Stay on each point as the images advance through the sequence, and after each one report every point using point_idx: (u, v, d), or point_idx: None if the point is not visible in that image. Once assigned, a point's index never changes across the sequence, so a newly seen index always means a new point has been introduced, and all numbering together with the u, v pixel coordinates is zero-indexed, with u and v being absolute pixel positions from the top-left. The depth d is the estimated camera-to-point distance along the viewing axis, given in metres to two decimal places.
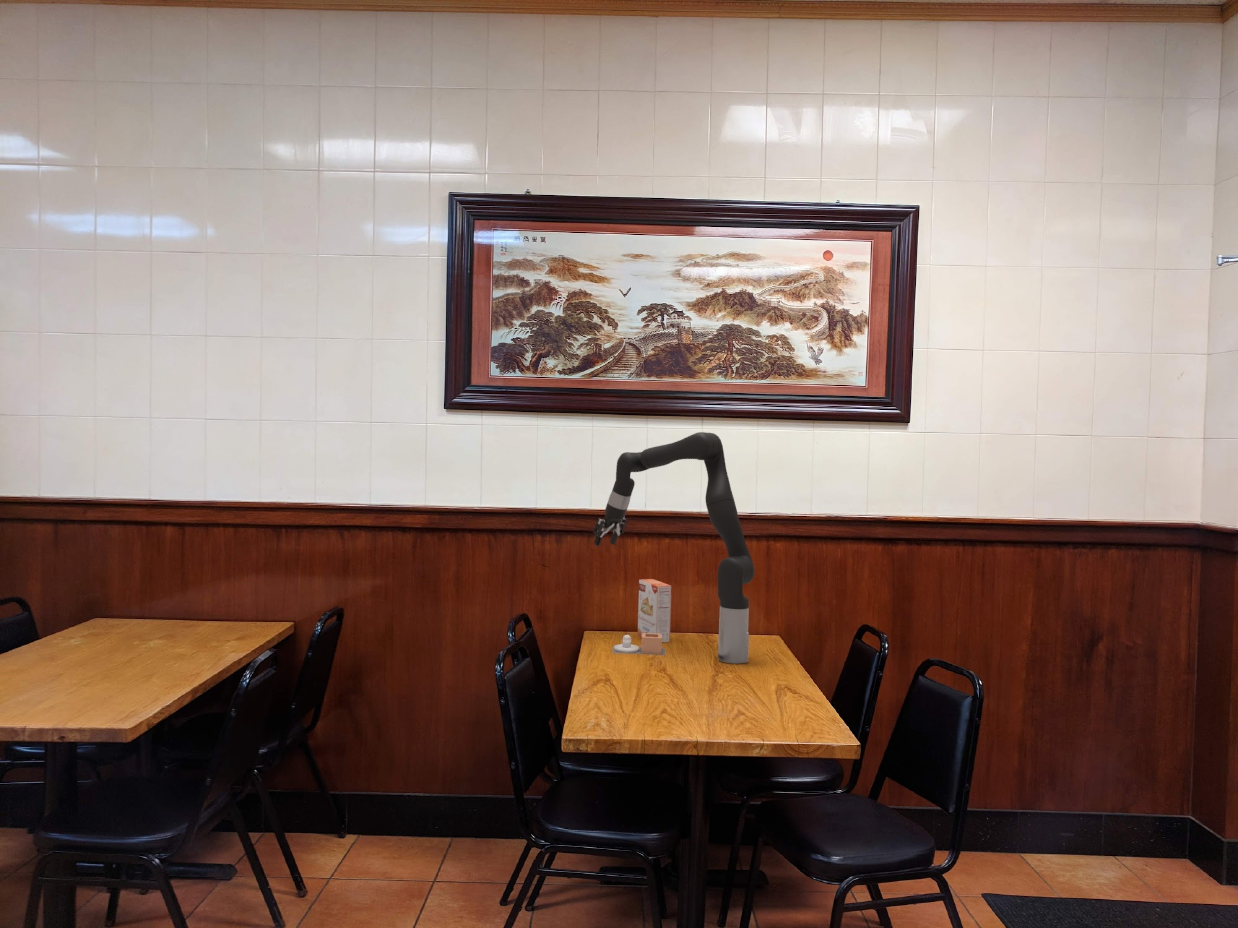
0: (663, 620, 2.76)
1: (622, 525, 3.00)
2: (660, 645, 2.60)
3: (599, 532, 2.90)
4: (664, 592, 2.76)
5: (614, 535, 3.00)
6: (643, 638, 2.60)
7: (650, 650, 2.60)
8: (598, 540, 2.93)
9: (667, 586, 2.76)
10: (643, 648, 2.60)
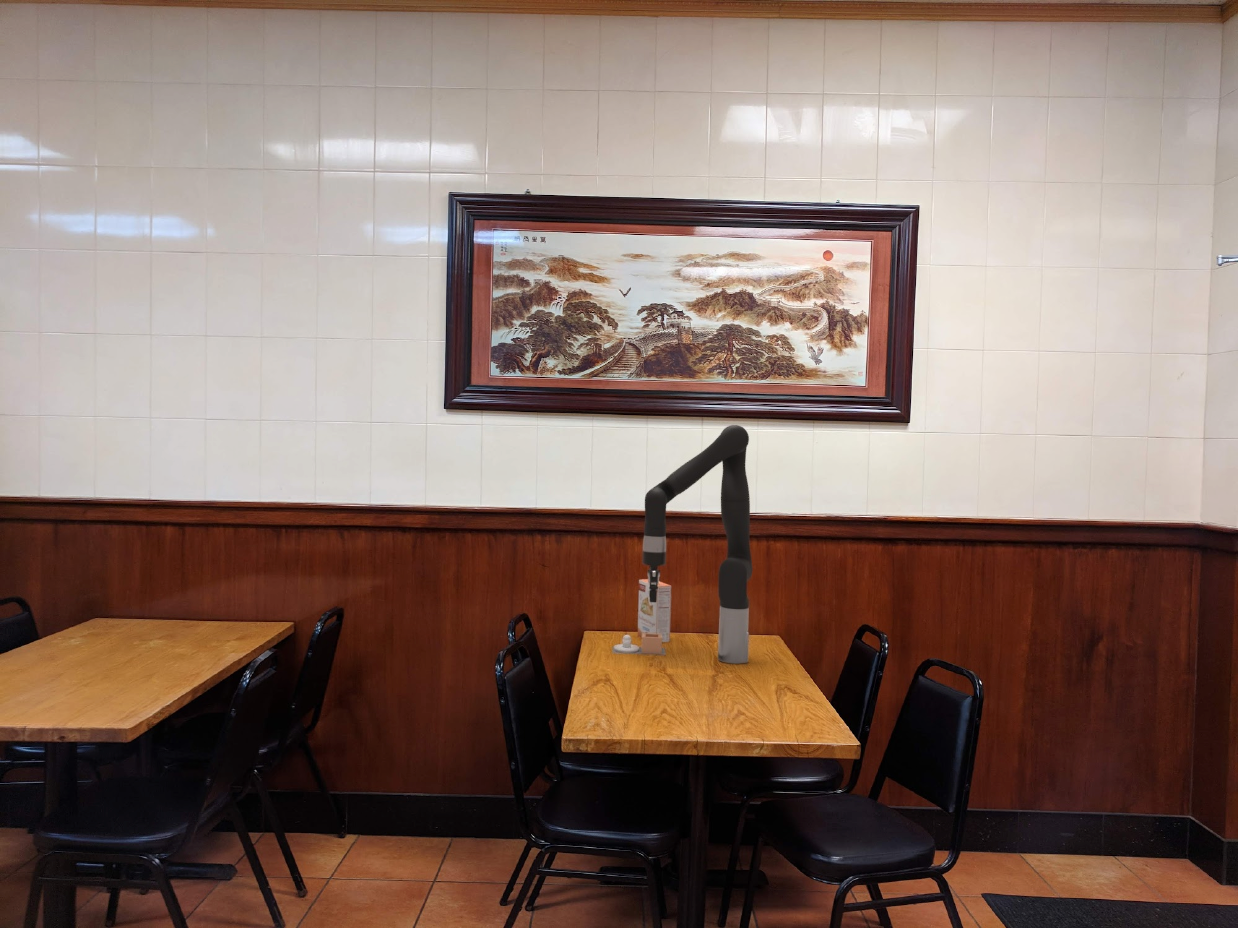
0: (663, 620, 2.76)
1: None
2: (660, 645, 2.60)
3: (657, 585, 2.57)
4: (664, 592, 2.76)
5: None
6: (643, 638, 2.60)
7: (650, 650, 2.60)
8: None
9: (667, 586, 2.76)
10: (643, 648, 2.60)
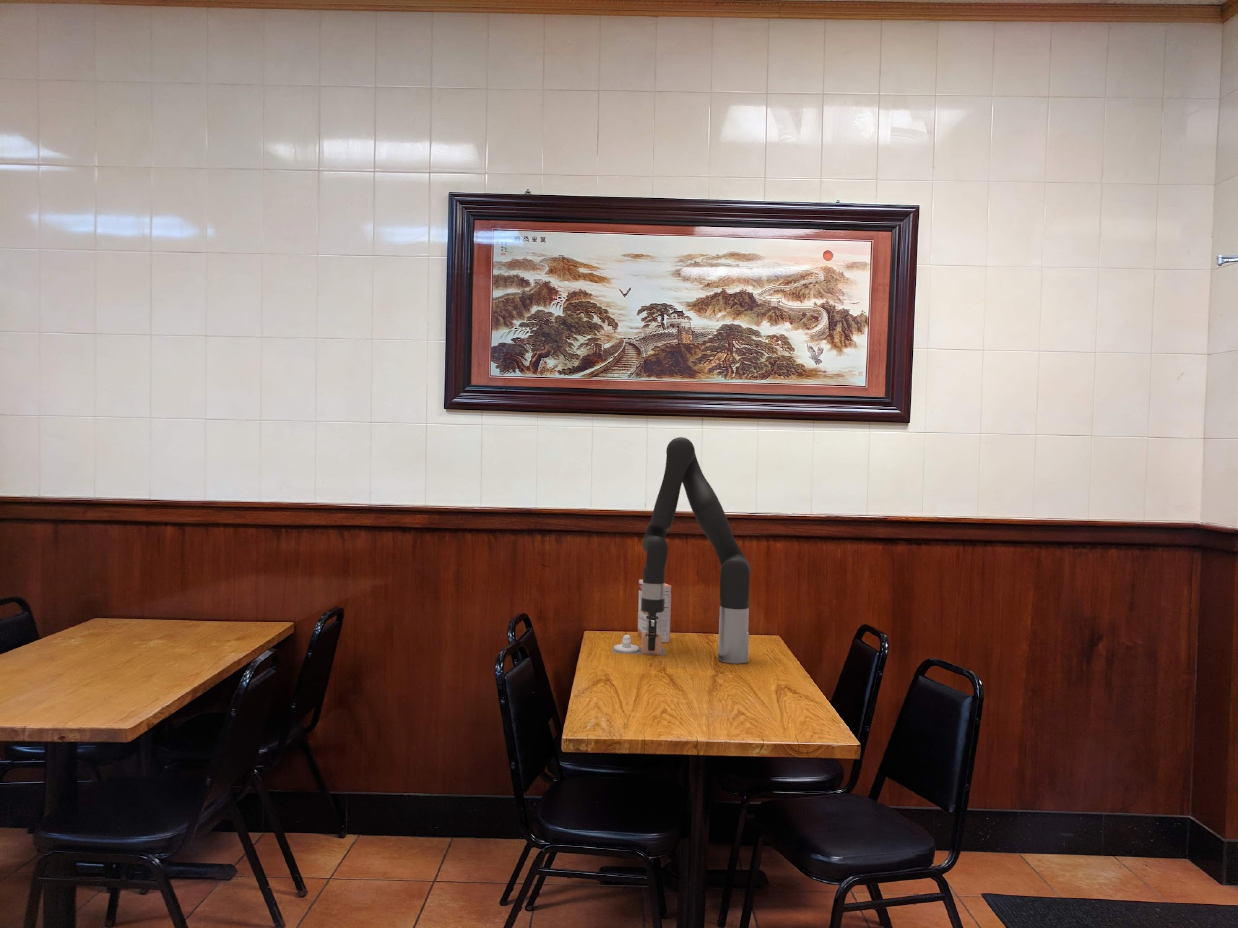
0: (663, 620, 2.76)
1: None
2: (660, 645, 2.60)
3: None
4: None
5: None
6: (643, 638, 2.60)
7: None
8: (653, 643, 2.59)
9: (667, 586, 2.76)
10: (643, 648, 2.60)
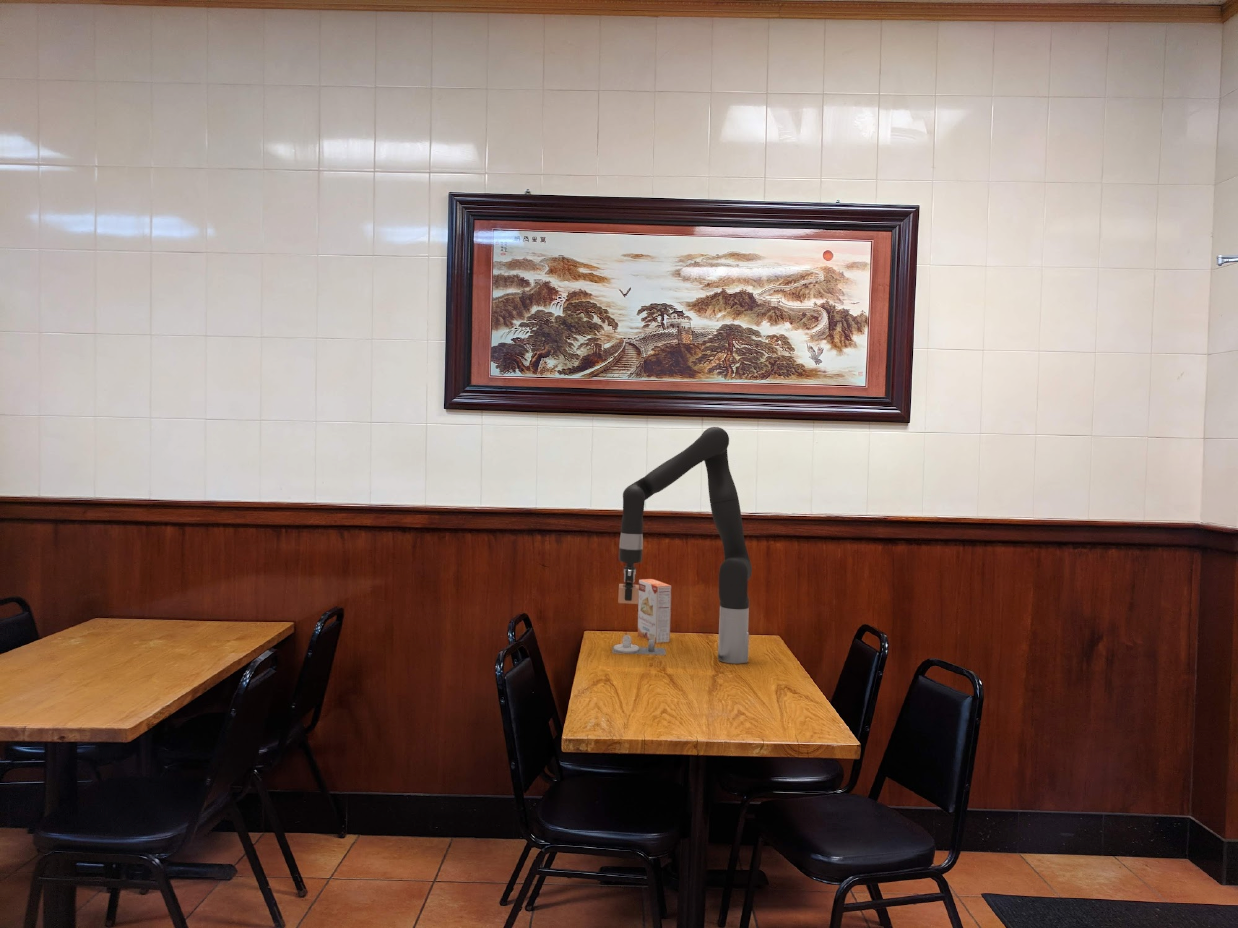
0: (663, 620, 2.76)
1: None
2: (637, 595, 2.60)
3: (632, 583, 2.58)
4: (664, 592, 2.76)
5: None
6: (620, 588, 2.60)
7: None
8: (630, 593, 2.59)
9: (667, 586, 2.76)
10: (620, 598, 2.60)
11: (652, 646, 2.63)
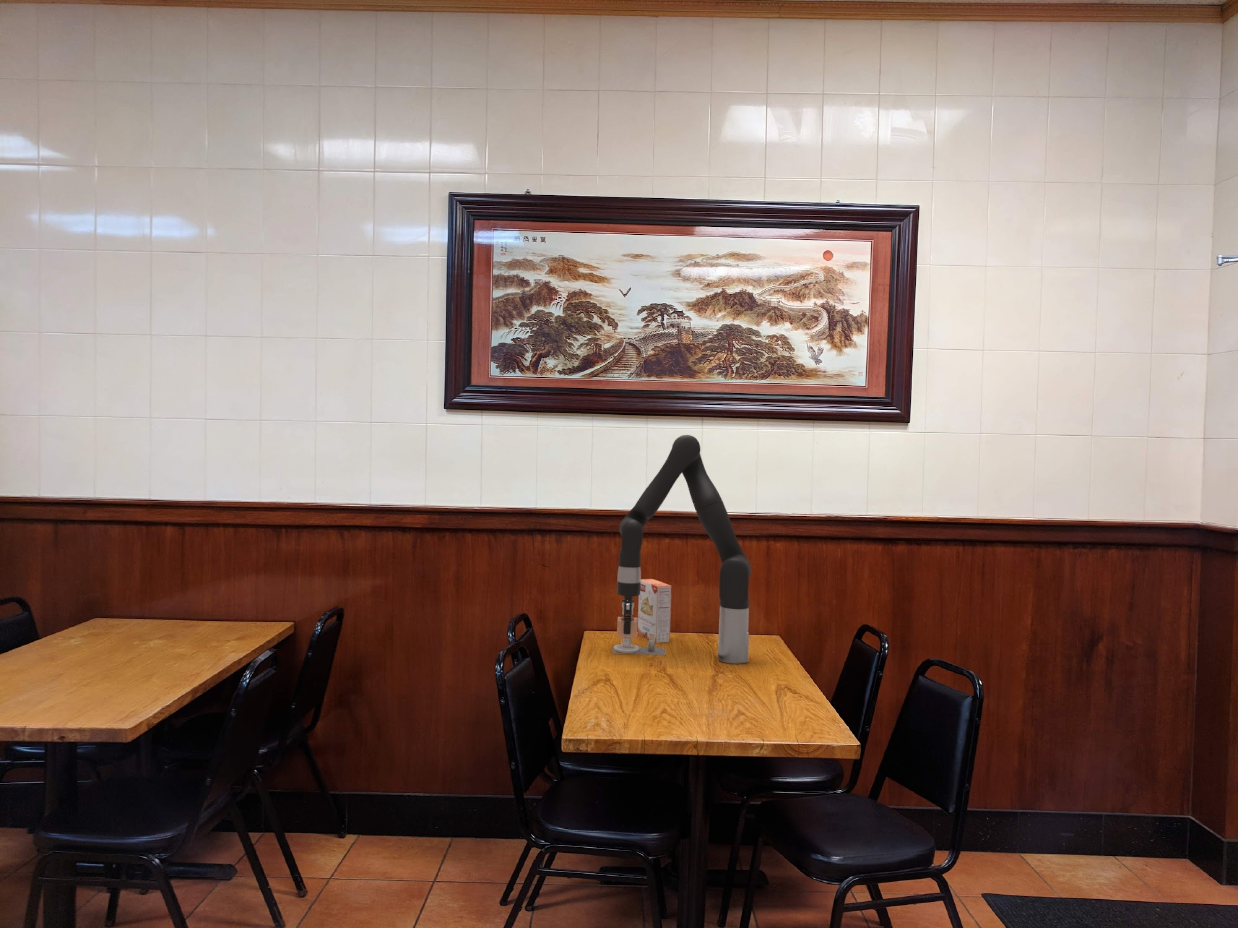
0: (663, 620, 2.76)
1: None
2: (635, 629, 2.60)
3: None
4: (664, 592, 2.76)
5: None
6: (618, 622, 2.60)
7: (625, 634, 2.60)
8: (629, 627, 2.59)
9: (667, 586, 2.76)
10: (618, 632, 2.60)
11: (652, 646, 2.63)
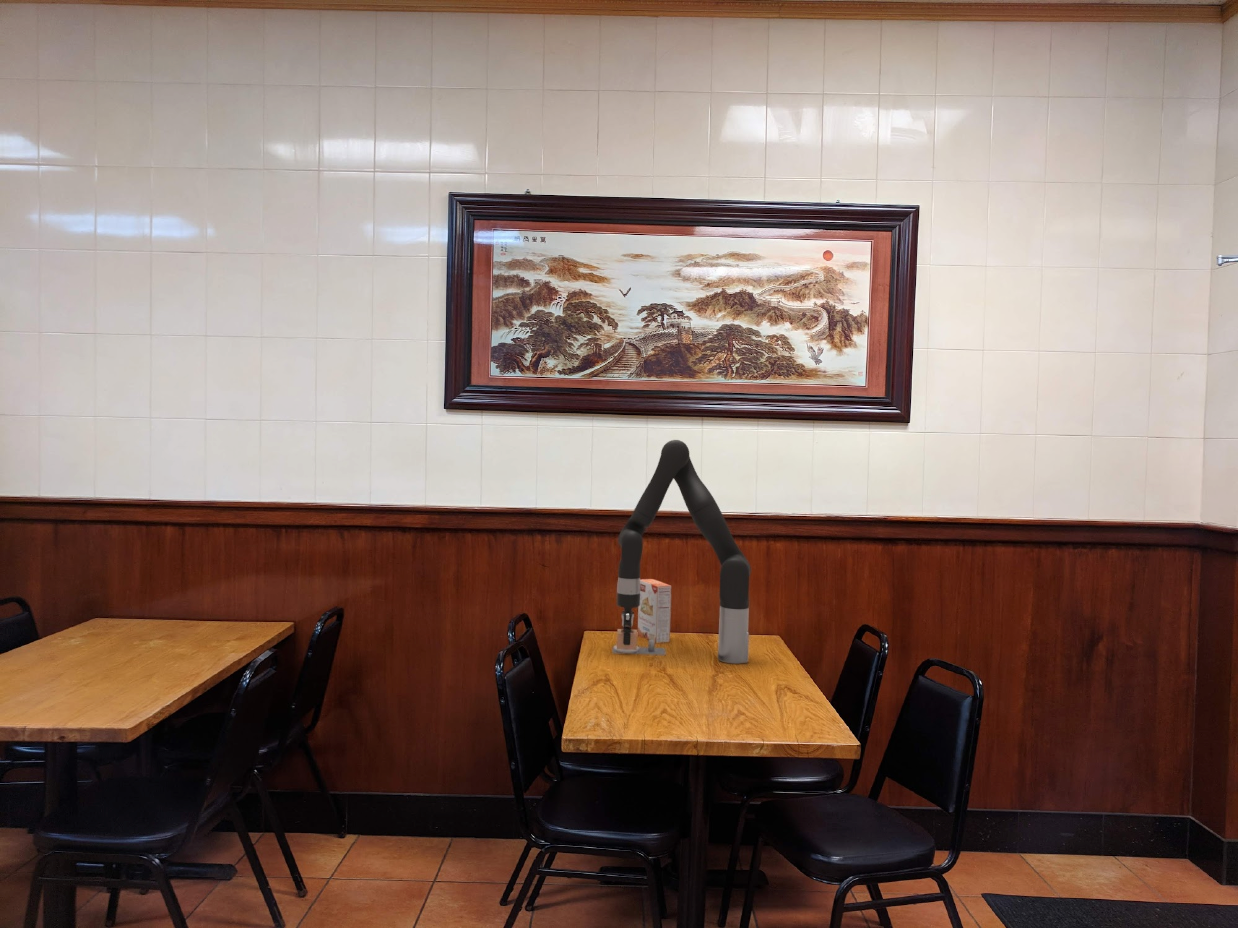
0: (663, 620, 2.76)
1: None
2: (635, 641, 2.60)
3: None
4: (664, 592, 2.76)
5: (627, 628, 2.67)
6: (618, 634, 2.60)
7: (625, 646, 2.60)
8: (629, 638, 2.59)
9: (667, 586, 2.76)
10: (618, 644, 2.60)
11: (652, 646, 2.63)
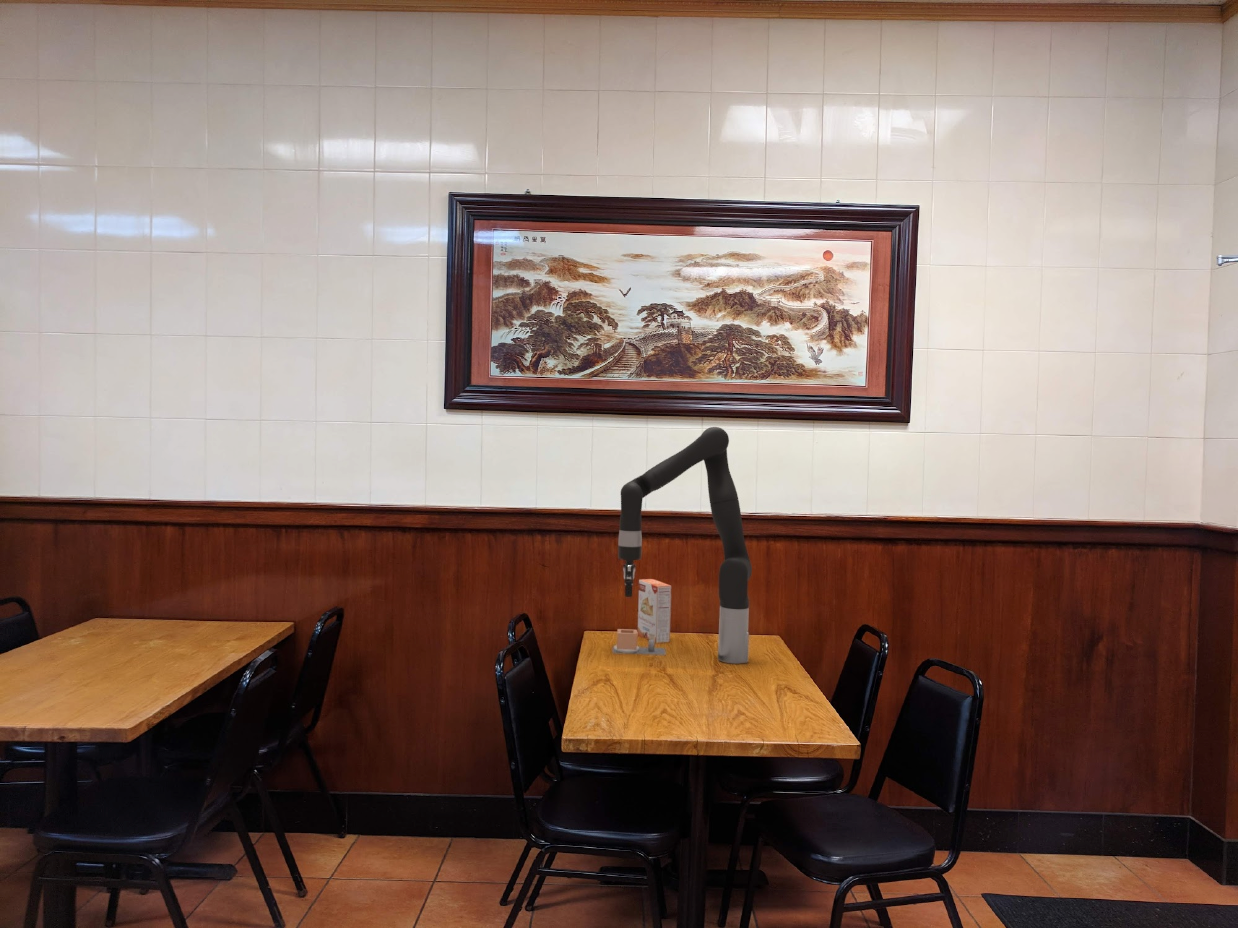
0: (663, 620, 2.76)
1: None
2: (635, 641, 2.60)
3: (632, 579, 2.57)
4: (664, 592, 2.76)
5: None
6: (618, 634, 2.60)
7: (625, 646, 2.60)
8: (630, 589, 2.58)
9: (667, 586, 2.76)
10: (618, 644, 2.60)
11: (652, 646, 2.63)
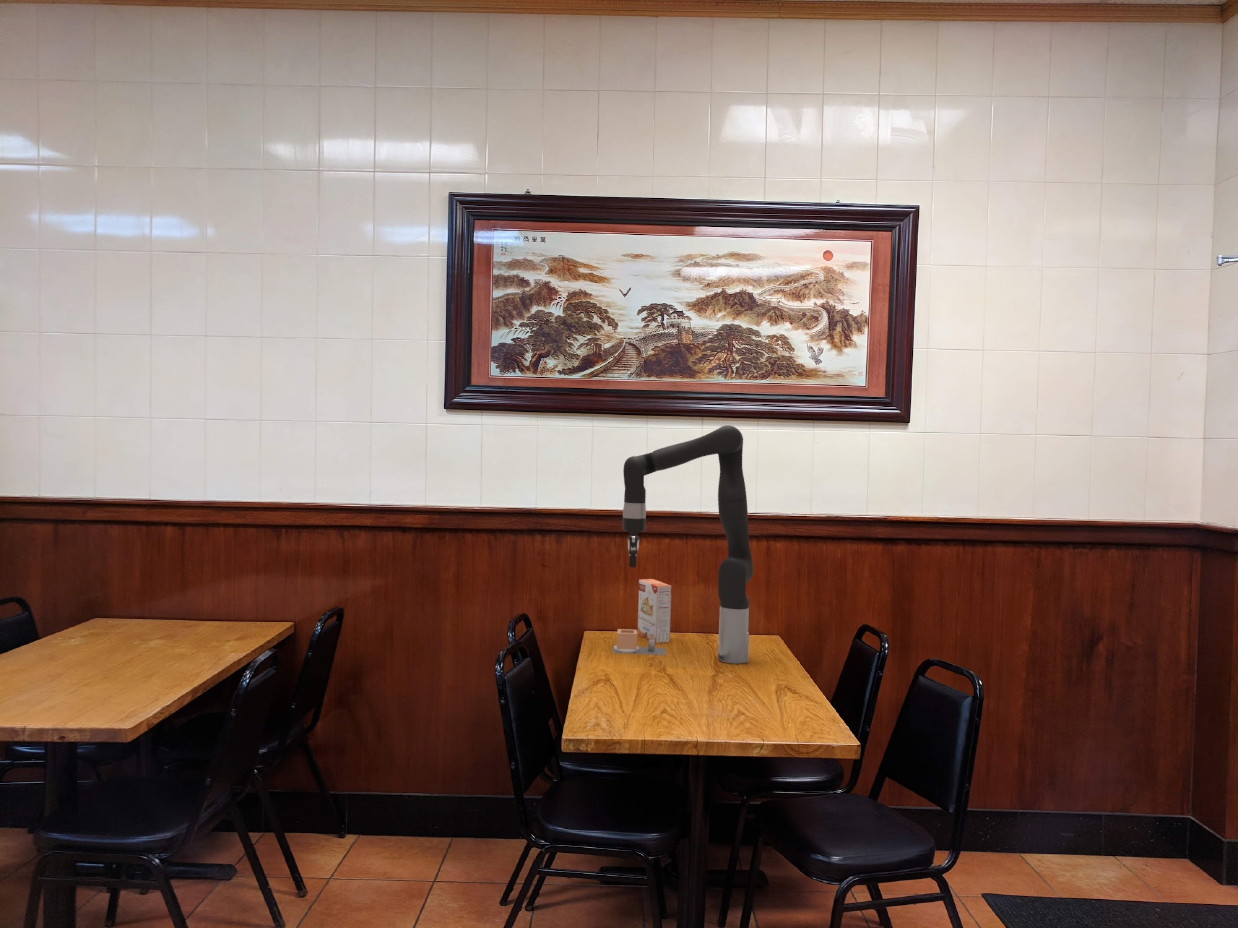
0: (663, 620, 2.76)
1: None
2: (635, 641, 2.60)
3: (636, 550, 2.62)
4: (664, 592, 2.76)
5: None
6: (618, 634, 2.60)
7: (625, 646, 2.60)
8: (634, 560, 2.64)
9: (667, 586, 2.76)
10: (618, 644, 2.60)
11: (652, 646, 2.63)
